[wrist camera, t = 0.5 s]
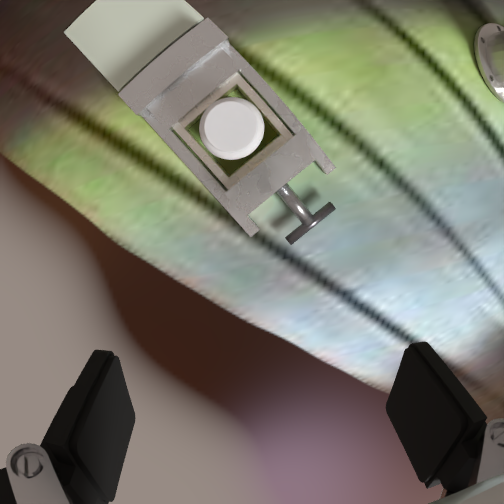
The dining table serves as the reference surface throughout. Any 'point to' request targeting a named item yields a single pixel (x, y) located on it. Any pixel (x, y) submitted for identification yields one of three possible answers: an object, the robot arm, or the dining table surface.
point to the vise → (194, 105)
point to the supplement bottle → (231, 128)
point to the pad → (129, 34)
